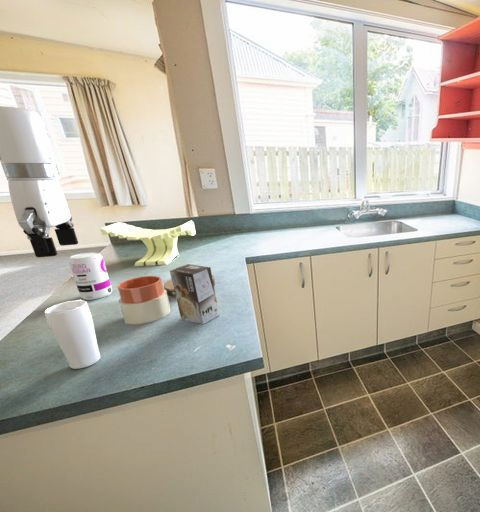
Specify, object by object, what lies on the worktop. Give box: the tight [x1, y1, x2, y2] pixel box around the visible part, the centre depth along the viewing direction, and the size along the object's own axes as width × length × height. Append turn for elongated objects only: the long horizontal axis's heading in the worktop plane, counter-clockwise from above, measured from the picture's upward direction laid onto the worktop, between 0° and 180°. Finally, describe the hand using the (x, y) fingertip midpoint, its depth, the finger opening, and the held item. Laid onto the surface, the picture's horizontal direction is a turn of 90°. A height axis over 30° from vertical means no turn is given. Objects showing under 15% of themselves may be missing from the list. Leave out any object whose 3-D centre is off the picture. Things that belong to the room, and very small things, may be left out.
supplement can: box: [68, 251, 113, 301], centre depth 102 cm, size 8×8×15 cm
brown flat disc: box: [163, 274, 216, 298], centre depth 111 cm, size 16×16×3 cm
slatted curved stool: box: [100, 220, 197, 267], centre depth 138 cm, size 30×16×18 cm, turn 104°
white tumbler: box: [44, 299, 102, 370], centre depth 68 cm, size 7×7×15 cm
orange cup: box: [117, 275, 164, 304], centre depth 90 cm, size 10×10×11 cm
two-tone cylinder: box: [118, 288, 172, 325], centre depth 91 cm, size 12×12×6 cm
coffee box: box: [169, 263, 220, 325], centre depth 89 cm, size 9×6×16 cm
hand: (59, 250), depth 67 cm, fingers open, 9 cm apart
